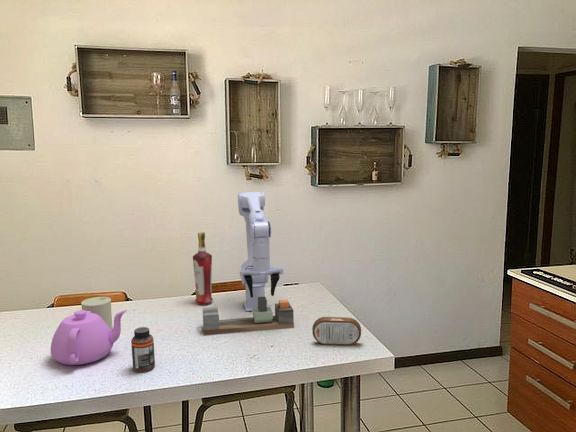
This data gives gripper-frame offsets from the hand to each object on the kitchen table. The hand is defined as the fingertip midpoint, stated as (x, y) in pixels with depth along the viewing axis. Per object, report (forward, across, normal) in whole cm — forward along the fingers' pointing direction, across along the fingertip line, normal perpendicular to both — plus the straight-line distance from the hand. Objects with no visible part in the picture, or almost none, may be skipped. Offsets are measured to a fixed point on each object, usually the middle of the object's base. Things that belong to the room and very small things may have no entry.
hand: (262, 295), depth 166 cm
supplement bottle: (+11, -37, -25) cm, 46 cm away
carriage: (+9, 0, 0) cm, 9 cm away
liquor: (+11, -19, +29) cm, 36 cm away
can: (+11, -54, +4) cm, 55 cm away
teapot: (+11, -53, -13) cm, 56 cm away
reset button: (+6, +7, 0) cm, 10 cm away
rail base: (+10, -5, 0) cm, 12 cm away
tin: (+11, +20, -21) cm, 31 cm away
